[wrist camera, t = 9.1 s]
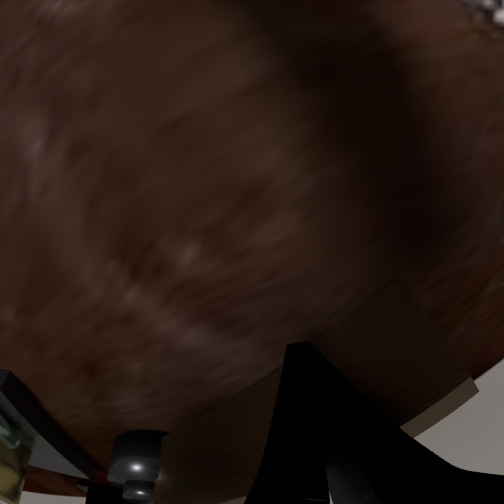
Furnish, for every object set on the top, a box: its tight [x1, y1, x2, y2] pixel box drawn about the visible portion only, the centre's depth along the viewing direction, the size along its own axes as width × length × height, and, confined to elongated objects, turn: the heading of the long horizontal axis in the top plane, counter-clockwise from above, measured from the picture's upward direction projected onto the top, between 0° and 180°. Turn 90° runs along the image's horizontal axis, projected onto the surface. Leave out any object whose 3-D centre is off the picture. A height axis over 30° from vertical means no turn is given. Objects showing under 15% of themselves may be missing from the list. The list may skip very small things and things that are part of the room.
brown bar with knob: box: [108, 276, 479, 504], centre depth 12 cm, size 20×5×5 cm, turn 135°
